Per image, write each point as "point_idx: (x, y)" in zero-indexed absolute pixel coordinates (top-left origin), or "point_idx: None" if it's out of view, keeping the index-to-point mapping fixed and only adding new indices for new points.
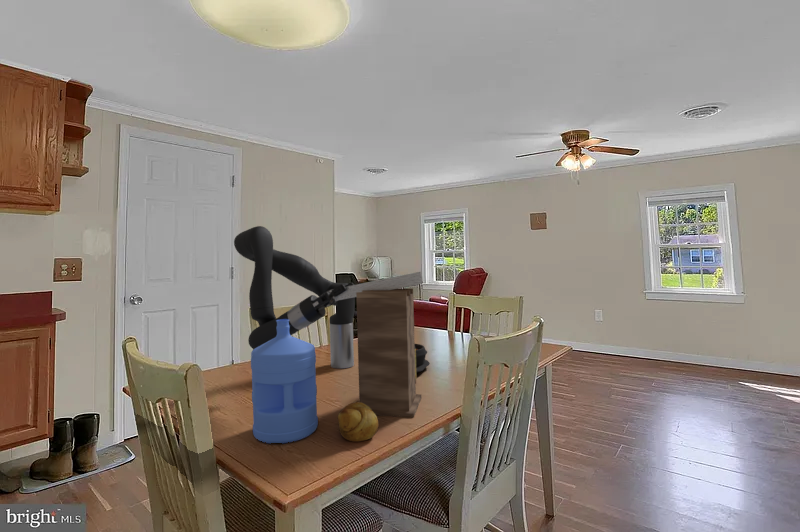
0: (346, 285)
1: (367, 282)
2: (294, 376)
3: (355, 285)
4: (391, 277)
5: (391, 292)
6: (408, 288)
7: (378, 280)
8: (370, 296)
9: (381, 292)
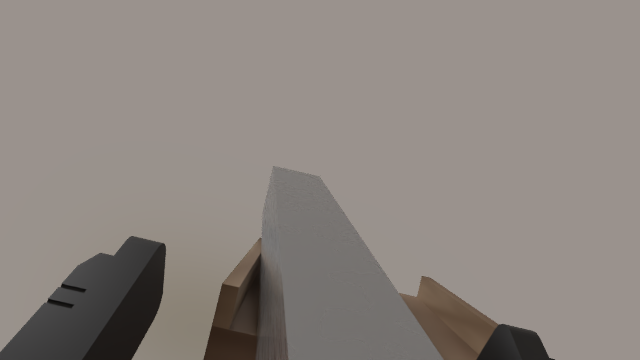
0: (124, 303)
1: (367, 247)
2: None
3: (392, 293)
4: (305, 197)
5: (451, 293)
6: (259, 240)
7: (349, 224)
8: None
9: (469, 306)
